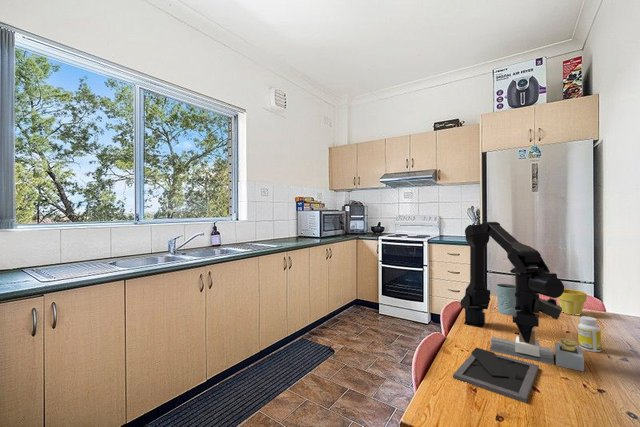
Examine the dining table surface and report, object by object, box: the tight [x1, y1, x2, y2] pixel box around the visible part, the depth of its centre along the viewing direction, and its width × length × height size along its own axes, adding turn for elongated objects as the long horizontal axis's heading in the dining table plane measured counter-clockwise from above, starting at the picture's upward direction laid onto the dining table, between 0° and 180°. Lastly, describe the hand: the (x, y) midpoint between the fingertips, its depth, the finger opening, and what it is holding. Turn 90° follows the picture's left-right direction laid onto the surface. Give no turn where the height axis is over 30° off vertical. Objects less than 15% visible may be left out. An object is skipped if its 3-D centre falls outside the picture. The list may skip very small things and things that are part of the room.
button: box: [559, 337, 577, 353], centre depth 86 cm, size 4×4×4 cm
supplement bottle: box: [577, 315, 602, 353], centre depth 95 cm, size 5×5×10 cm
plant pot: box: [557, 288, 587, 315], centre depth 131 cm, size 10×10×10 cm
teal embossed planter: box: [495, 283, 520, 317], centre depth 133 cm, size 10×10×12 cm
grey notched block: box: [554, 342, 585, 372], centre depth 86 cm, size 6×8×4 cm
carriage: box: [514, 327, 540, 357], centre depth 92 cm, size 6×6×7 cm
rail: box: [489, 336, 555, 366], centre depth 93 cm, size 16×8×3 cm, turn 53°
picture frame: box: [452, 347, 540, 404], centre depth 80 cm, size 16×2×21 cm
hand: (527, 340), depth 92 cm, fingers closed on carriage, 4 cm apart
